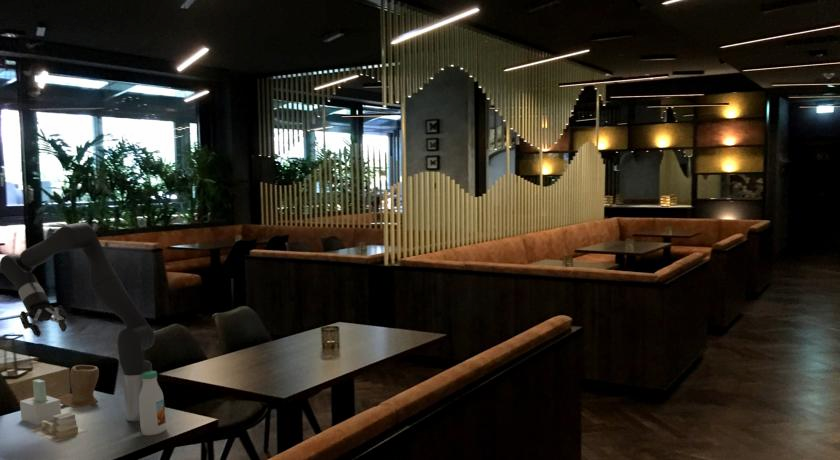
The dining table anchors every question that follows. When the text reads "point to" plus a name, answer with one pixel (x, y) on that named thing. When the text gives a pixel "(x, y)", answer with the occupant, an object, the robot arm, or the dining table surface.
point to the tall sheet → (39, 391)
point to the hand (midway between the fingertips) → (52, 332)
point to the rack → (47, 432)
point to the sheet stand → (39, 410)
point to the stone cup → (81, 386)
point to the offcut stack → (64, 425)
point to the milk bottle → (151, 405)
